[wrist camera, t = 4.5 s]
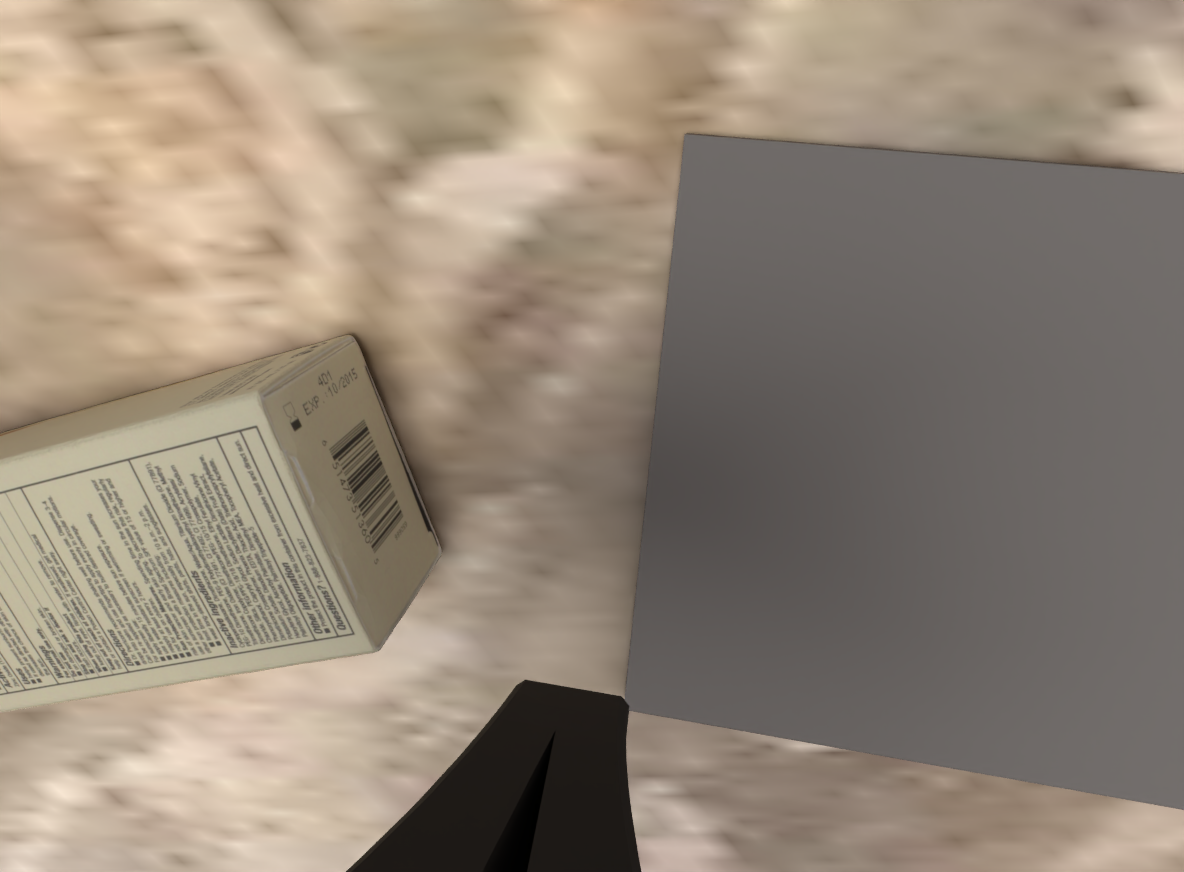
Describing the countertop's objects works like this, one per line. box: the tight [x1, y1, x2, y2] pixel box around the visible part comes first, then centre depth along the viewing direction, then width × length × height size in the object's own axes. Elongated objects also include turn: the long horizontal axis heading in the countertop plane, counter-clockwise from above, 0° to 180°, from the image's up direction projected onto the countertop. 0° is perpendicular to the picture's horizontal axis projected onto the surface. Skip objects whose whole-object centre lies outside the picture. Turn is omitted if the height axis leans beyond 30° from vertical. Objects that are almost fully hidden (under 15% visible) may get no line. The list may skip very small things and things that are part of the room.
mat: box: [625, 133, 1184, 810], centre depth 17 cm, size 14×17×1 cm
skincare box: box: [0, 335, 442, 713], centre depth 19 cm, size 6×4×12 cm
